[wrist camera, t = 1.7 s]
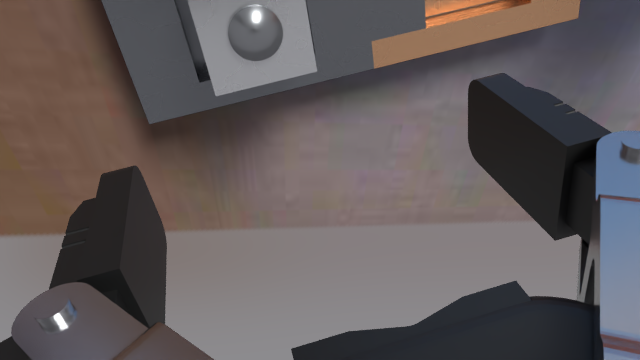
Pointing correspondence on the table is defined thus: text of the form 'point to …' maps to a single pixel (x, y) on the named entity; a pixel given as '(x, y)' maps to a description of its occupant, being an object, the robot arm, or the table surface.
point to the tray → (327, 37)
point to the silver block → (253, 41)
